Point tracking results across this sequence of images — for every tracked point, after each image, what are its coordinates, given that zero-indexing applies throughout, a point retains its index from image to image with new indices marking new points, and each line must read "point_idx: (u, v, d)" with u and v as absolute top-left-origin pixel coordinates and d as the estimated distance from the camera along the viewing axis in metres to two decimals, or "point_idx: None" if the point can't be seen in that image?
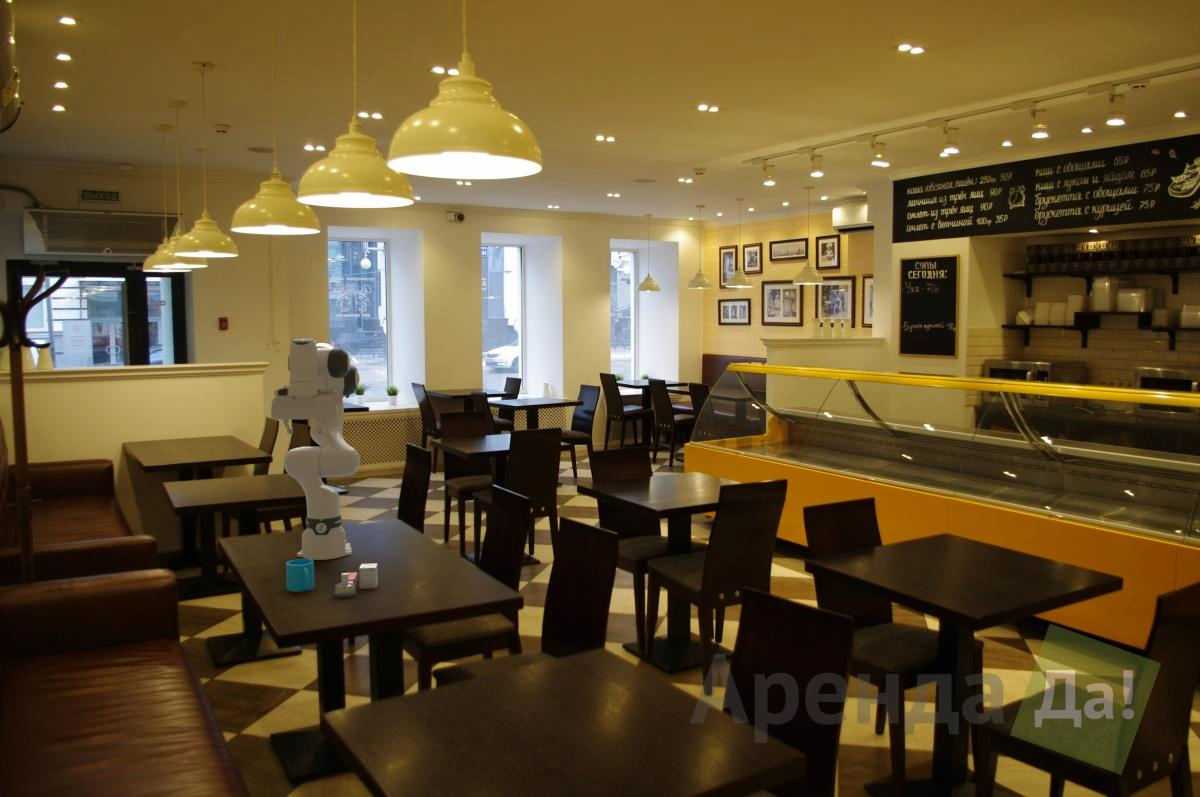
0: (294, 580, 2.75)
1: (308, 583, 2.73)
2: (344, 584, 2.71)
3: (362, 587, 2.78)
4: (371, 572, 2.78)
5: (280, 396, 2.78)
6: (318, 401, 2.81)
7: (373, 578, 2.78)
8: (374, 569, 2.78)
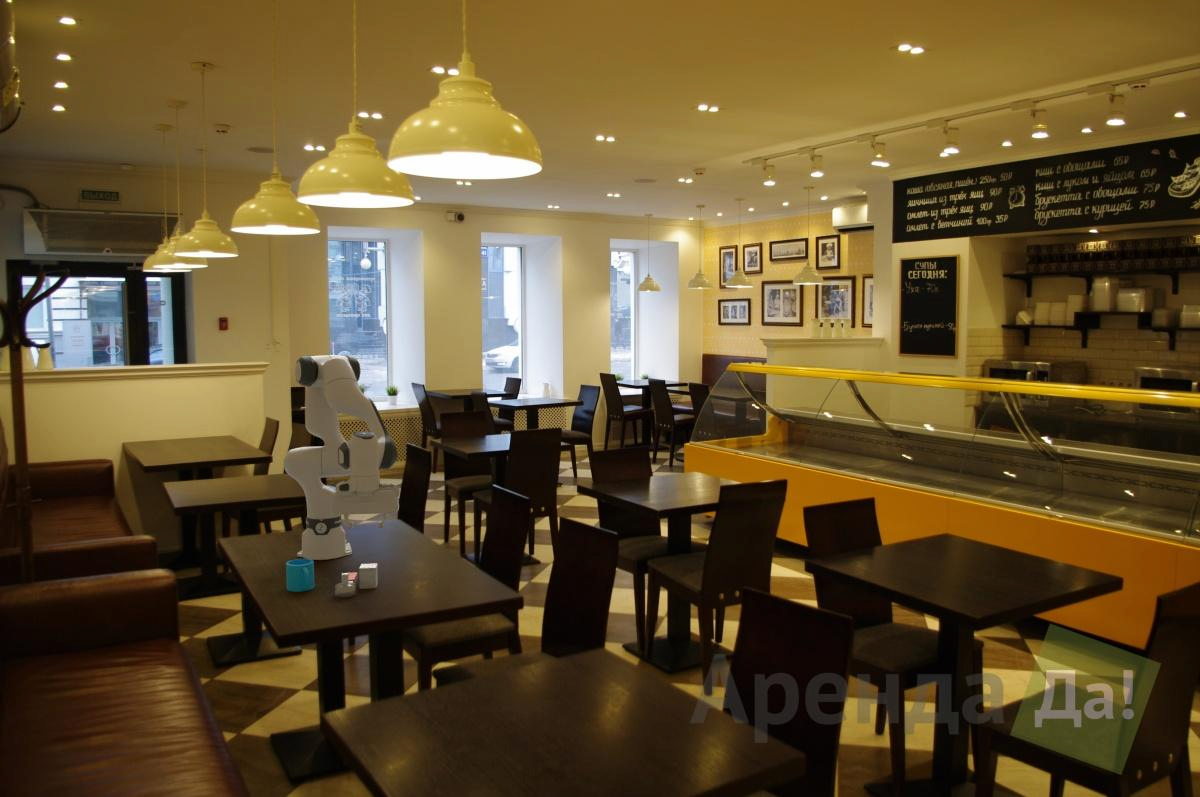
0: (294, 580, 2.75)
1: (308, 583, 2.73)
2: (344, 584, 2.71)
3: (362, 587, 2.78)
4: (371, 572, 2.78)
5: (341, 491, 2.74)
6: (379, 495, 2.77)
7: (373, 578, 2.78)
8: (374, 569, 2.78)
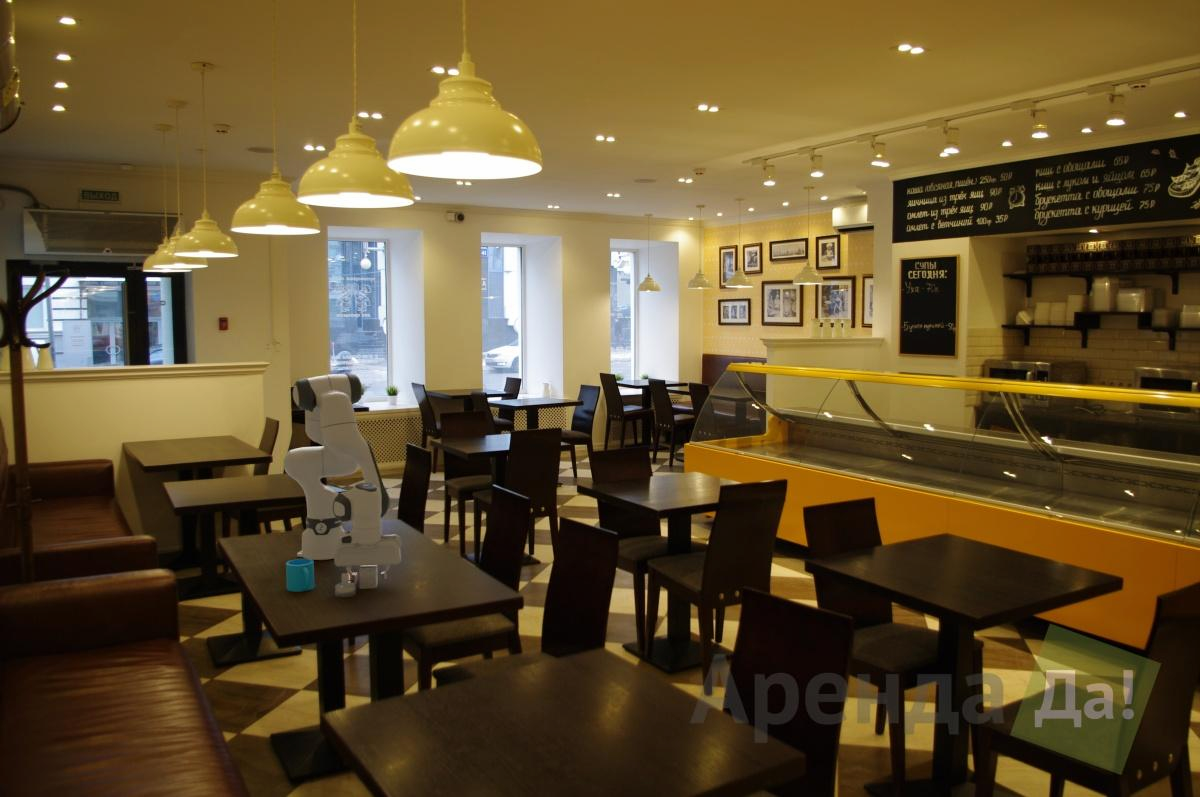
0: (294, 580, 2.75)
1: (308, 583, 2.73)
2: (344, 584, 2.71)
3: (362, 587, 2.78)
4: (371, 572, 2.78)
5: (344, 544, 2.76)
6: (381, 547, 2.78)
7: (373, 578, 2.78)
8: (374, 569, 2.78)
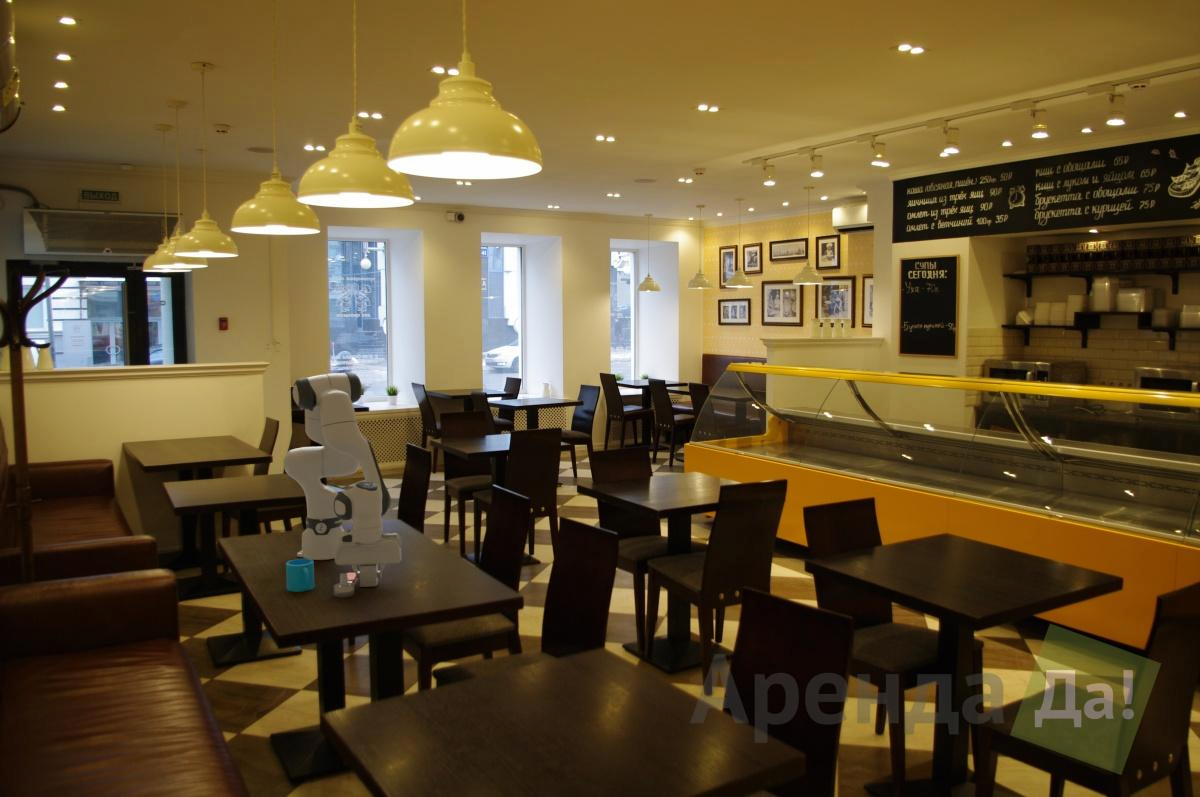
0: (294, 580, 2.75)
1: (308, 583, 2.73)
2: (343, 584, 2.71)
3: (362, 585, 2.79)
4: (371, 570, 2.79)
5: (344, 542, 2.76)
6: (382, 546, 2.79)
7: (373, 576, 2.79)
8: (374, 567, 2.79)
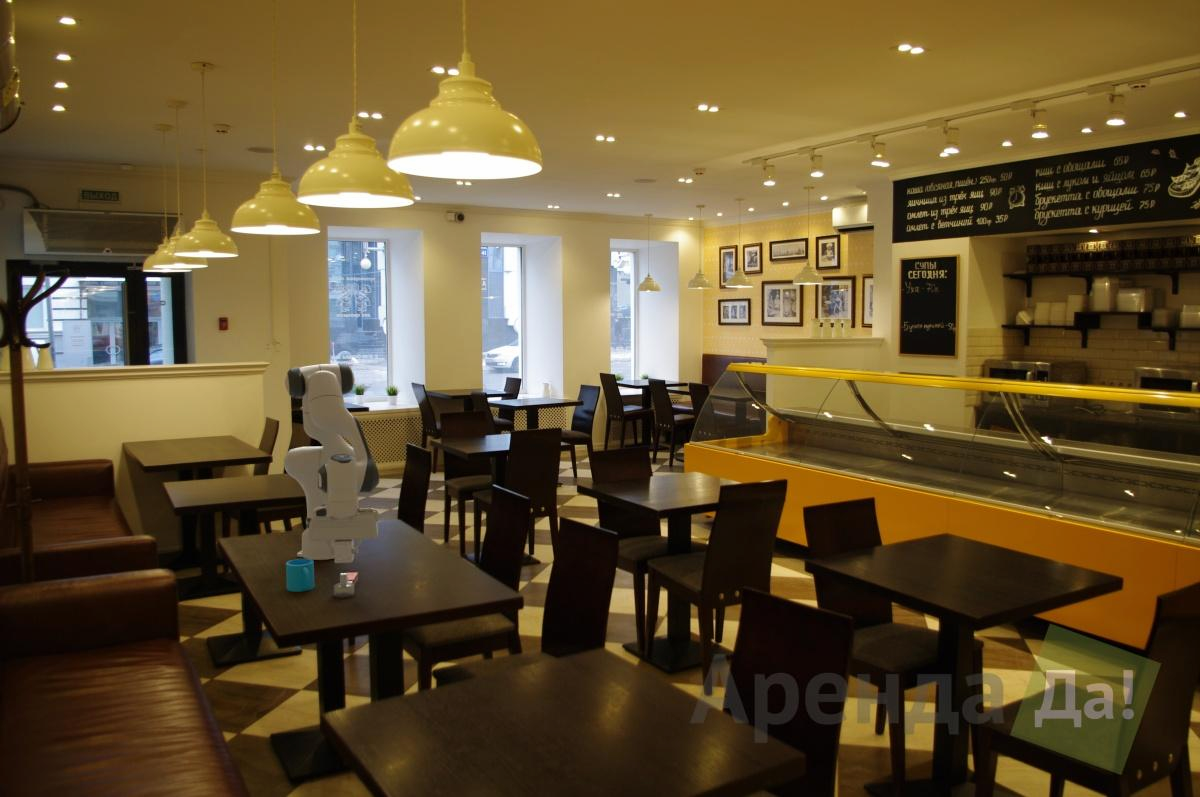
0: (294, 580, 2.75)
1: (308, 583, 2.73)
2: (343, 584, 2.71)
3: (337, 562, 2.68)
4: (346, 546, 2.69)
5: (318, 517, 2.66)
6: (358, 521, 2.69)
7: (349, 552, 2.69)
8: (350, 543, 2.69)
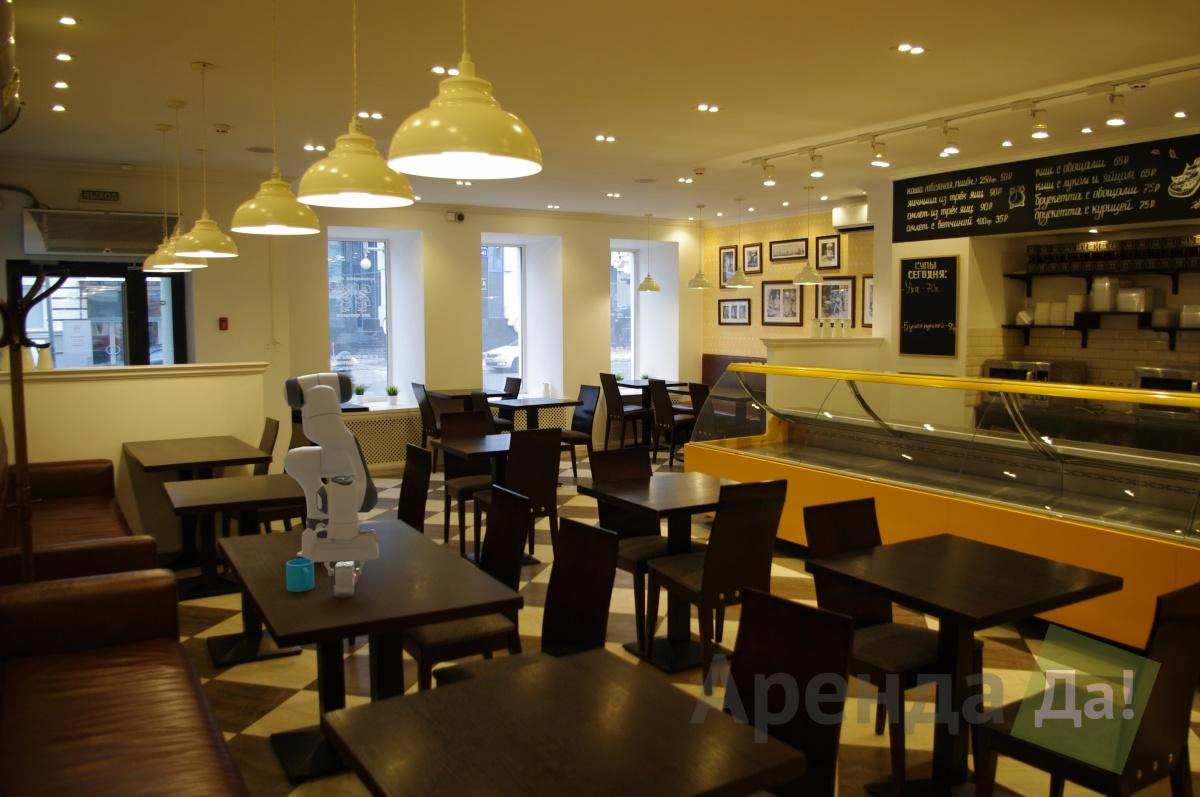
0: (294, 580, 2.75)
1: (308, 583, 2.73)
2: None
3: (338, 586, 2.69)
4: (347, 570, 2.69)
5: (319, 539, 2.67)
6: (358, 542, 2.70)
7: (349, 576, 2.70)
8: (350, 567, 2.69)
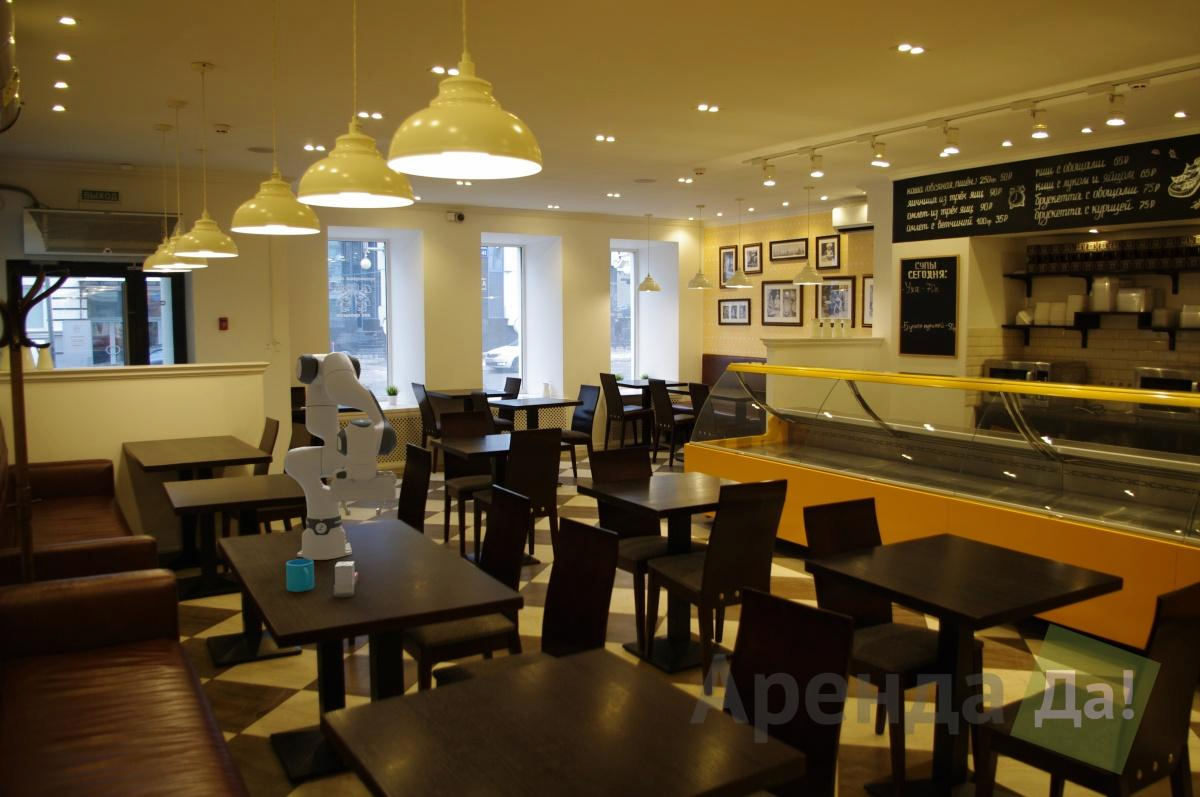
0: (294, 580, 2.75)
1: (308, 583, 2.73)
2: None
3: (338, 586, 2.70)
4: (347, 570, 2.69)
5: (338, 479, 2.74)
6: (376, 483, 2.77)
7: (349, 576, 2.70)
8: (350, 567, 2.69)
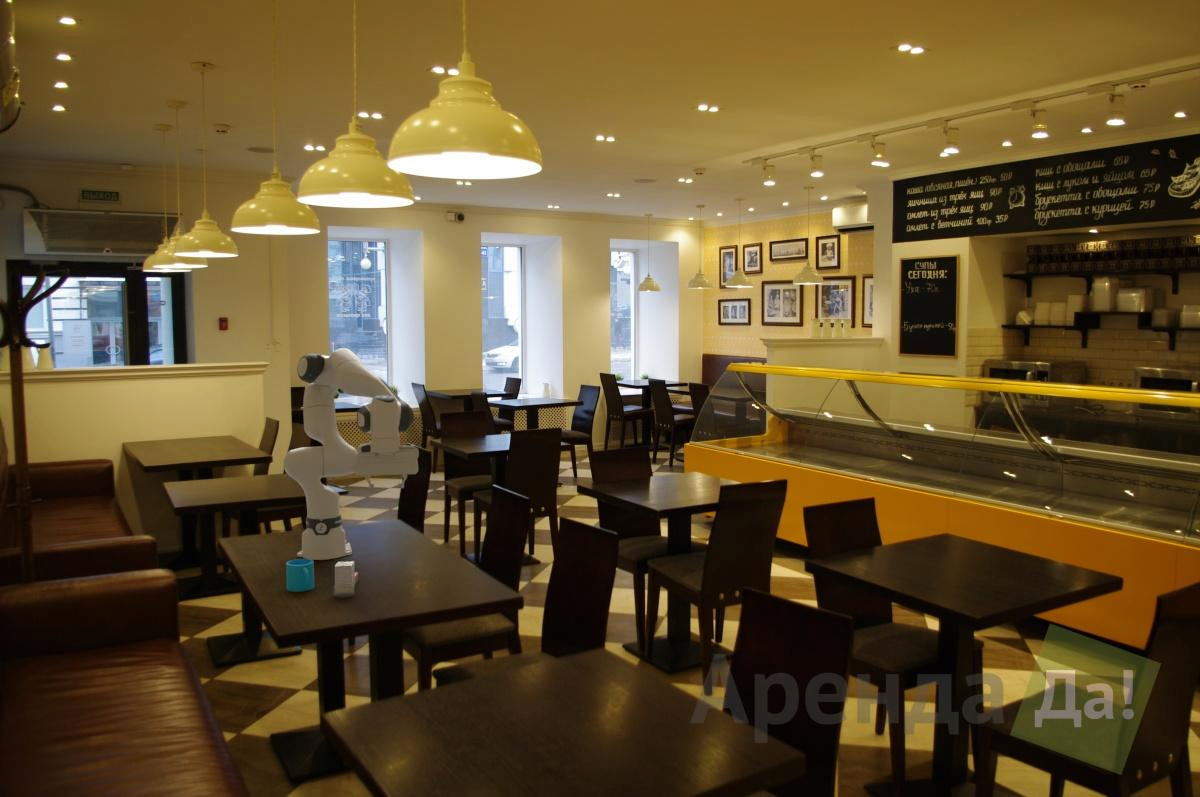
0: (294, 580, 2.75)
1: (308, 583, 2.73)
2: None
3: (337, 586, 2.70)
4: (347, 570, 2.69)
5: (363, 453, 2.84)
6: (399, 457, 2.87)
7: (349, 576, 2.70)
8: (350, 567, 2.69)
